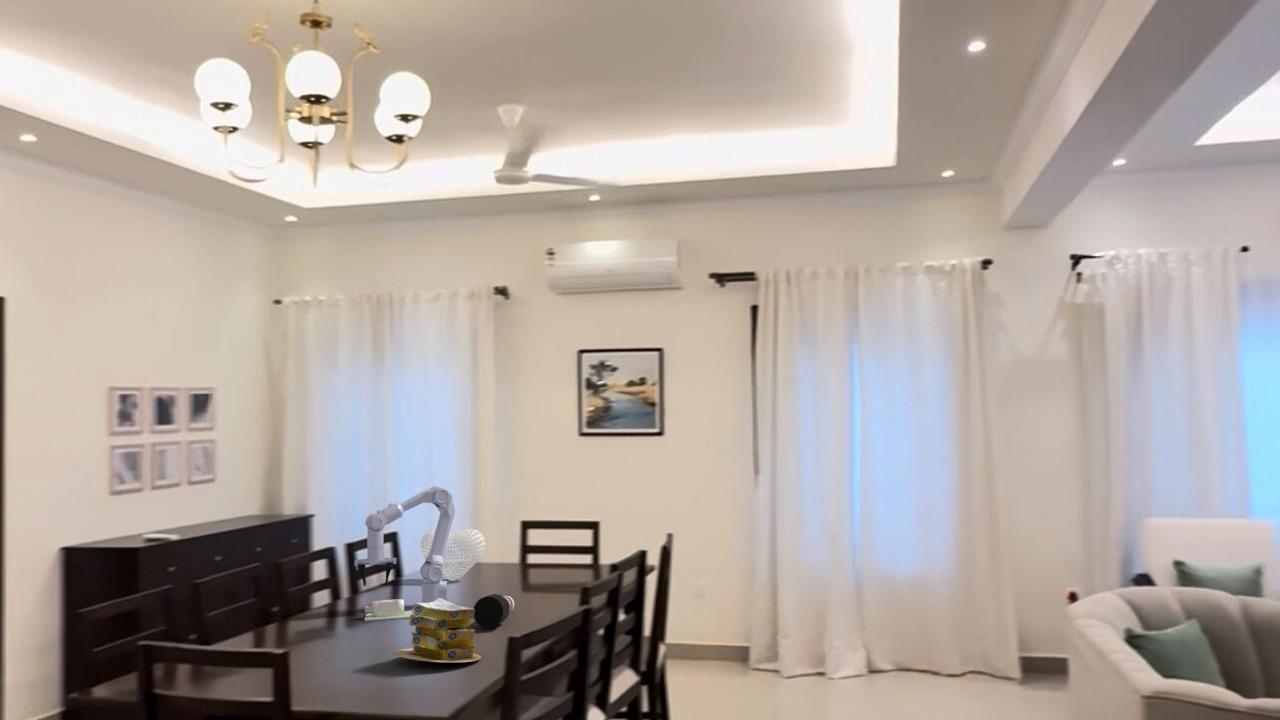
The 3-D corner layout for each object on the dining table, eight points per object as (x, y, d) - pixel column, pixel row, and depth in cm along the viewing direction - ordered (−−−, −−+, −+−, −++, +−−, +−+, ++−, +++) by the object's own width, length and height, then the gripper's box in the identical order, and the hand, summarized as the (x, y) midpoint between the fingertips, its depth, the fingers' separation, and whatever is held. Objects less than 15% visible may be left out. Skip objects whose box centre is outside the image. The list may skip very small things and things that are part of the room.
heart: (490, 577, 422) (489, 526, 423) (480, 584, 406) (479, 530, 408) (427, 577, 425) (427, 526, 426) (415, 584, 409) (415, 531, 411)
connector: (404, 613, 346) (404, 598, 347) (404, 615, 343) (403, 601, 343) (365, 615, 344) (365, 601, 344) (364, 617, 340) (364, 603, 340)
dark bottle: (514, 622, 351) (527, 596, 352) (494, 633, 318) (508, 605, 319) (490, 609, 353) (503, 583, 354) (467, 619, 319) (481, 591, 320)
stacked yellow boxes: (452, 646, 297) (452, 591, 298) (497, 661, 279) (497, 602, 280) (378, 661, 281) (378, 603, 282) (420, 678, 262) (420, 615, 263)
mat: (412, 612, 350) (412, 611, 350) (411, 618, 340) (411, 616, 340) (366, 615, 346) (366, 613, 346) (364, 621, 337) (364, 619, 337)
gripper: (396, 544, 359) (396, 581, 358) (355, 546, 356) (355, 583, 355) (395, 547, 352) (395, 584, 351) (354, 549, 349) (354, 587, 348)
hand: (375, 584), depth 352 cm, fingers open, 7 cm apart
